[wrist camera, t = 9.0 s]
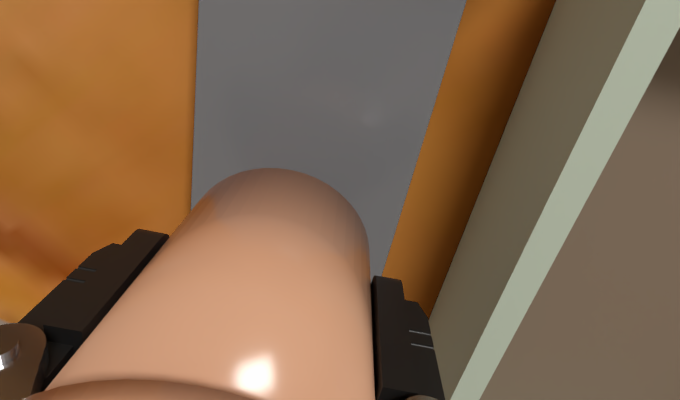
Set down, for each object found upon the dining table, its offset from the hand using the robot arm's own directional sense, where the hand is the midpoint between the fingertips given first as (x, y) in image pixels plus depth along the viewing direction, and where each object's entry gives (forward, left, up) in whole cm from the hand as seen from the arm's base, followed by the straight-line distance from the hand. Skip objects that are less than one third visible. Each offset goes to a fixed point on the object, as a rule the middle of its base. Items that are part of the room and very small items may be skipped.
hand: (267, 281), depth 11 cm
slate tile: (0, 0, -6) cm, 6 cm away
